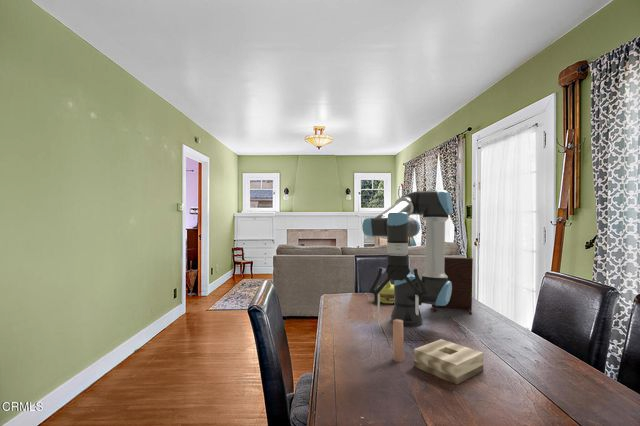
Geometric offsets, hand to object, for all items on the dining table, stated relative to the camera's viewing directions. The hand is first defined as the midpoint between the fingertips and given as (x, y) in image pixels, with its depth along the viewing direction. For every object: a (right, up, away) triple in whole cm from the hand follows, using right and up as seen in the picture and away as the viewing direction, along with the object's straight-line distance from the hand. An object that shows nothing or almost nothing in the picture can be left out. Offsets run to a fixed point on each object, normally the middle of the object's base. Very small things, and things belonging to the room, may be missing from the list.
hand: (397, 313), depth 122 cm
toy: (+14, -19, +85) cm, 88 cm away
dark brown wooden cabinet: (+45, -18, +64) cm, 80 cm away
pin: (0, -17, 0) cm, 17 cm away
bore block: (+16, -17, -7) cm, 24 cm away
